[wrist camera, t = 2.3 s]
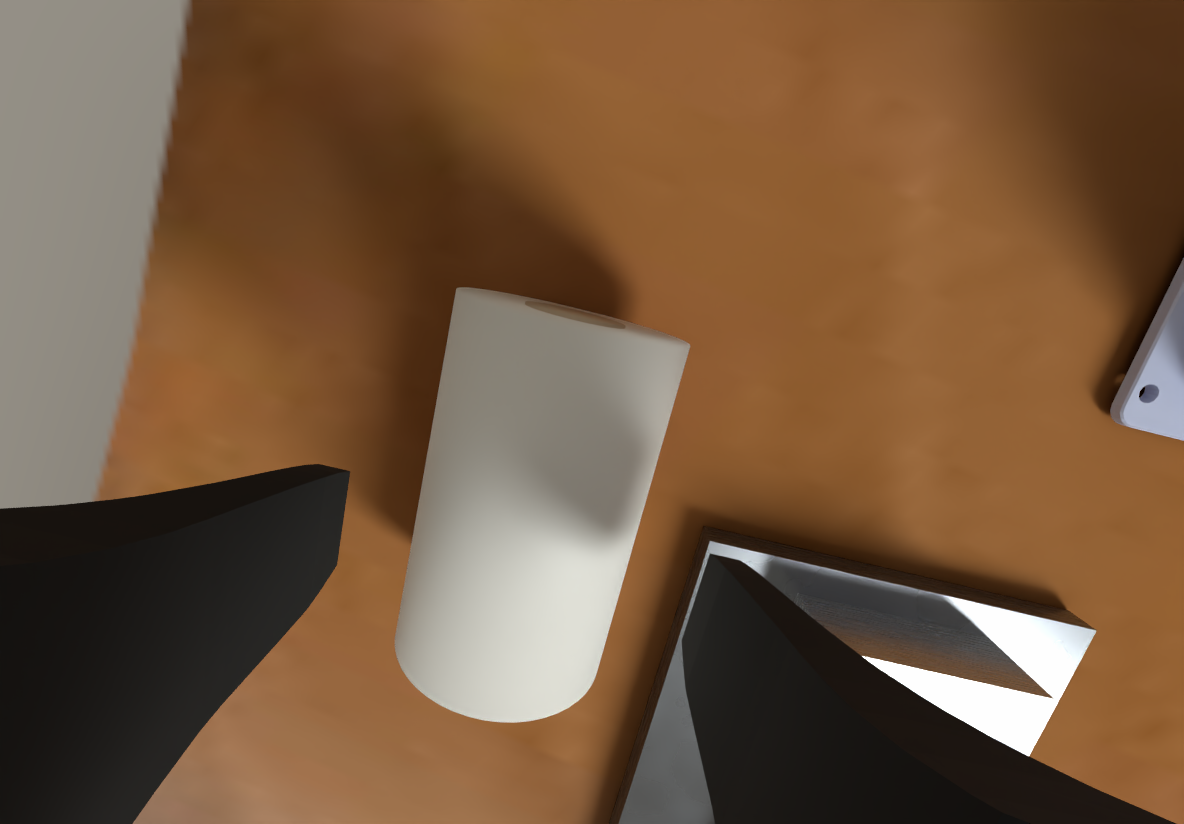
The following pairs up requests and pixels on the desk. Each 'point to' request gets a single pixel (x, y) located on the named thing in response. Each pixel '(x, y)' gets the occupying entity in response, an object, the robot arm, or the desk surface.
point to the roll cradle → (879, 634)
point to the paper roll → (530, 501)
